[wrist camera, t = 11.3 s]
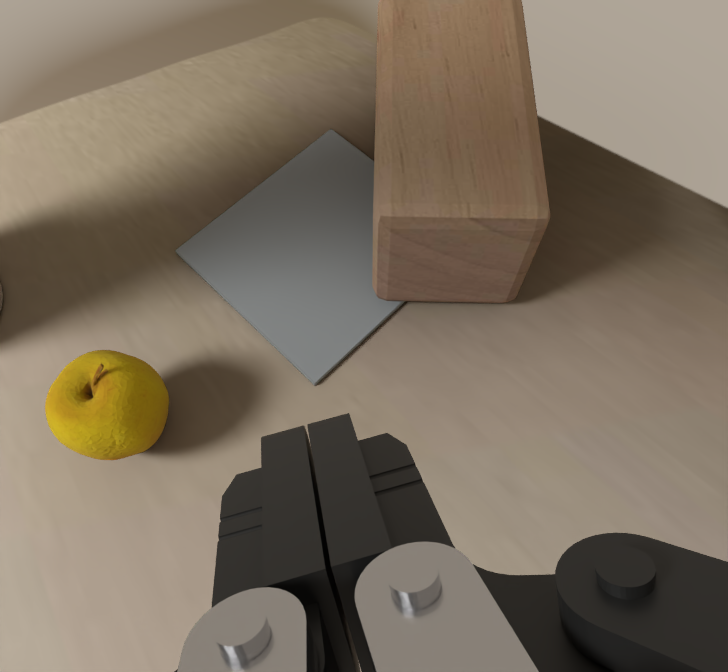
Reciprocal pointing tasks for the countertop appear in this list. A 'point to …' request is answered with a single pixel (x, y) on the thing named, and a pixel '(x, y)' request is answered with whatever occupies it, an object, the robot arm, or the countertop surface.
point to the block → (455, 152)
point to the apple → (107, 405)
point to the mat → (300, 256)
